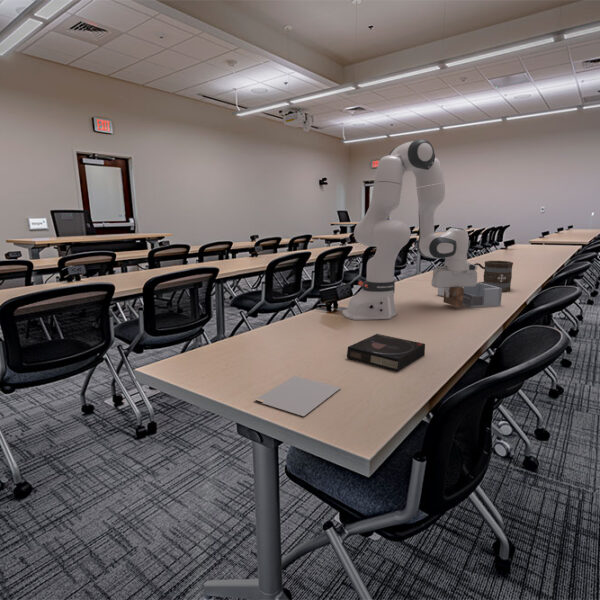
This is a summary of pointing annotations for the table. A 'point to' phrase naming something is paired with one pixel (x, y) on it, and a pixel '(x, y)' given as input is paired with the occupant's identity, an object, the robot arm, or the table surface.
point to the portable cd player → (386, 352)
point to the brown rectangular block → (454, 296)
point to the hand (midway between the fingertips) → (453, 297)
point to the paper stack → (298, 395)
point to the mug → (498, 274)
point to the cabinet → (482, 296)
